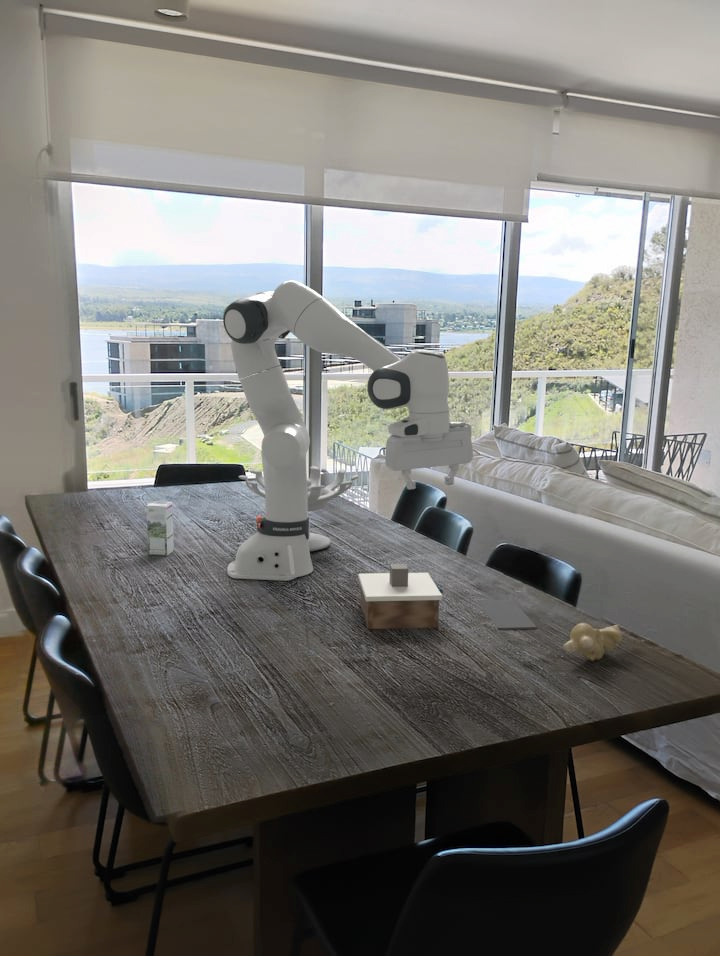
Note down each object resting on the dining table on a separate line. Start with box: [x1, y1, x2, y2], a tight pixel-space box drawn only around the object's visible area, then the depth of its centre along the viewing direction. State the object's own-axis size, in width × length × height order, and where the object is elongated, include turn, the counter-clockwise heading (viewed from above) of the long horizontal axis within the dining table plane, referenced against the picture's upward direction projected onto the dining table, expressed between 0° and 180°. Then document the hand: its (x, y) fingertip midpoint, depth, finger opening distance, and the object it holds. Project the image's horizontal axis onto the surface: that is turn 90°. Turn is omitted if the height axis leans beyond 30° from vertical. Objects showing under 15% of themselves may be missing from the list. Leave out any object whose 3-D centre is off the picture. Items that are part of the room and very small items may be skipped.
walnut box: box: [359, 586, 440, 630], centre depth 170 cm, size 15×15×7 cm
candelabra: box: [238, 465, 360, 552], centre depth 228 cm, size 34×35×27 cm
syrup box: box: [146, 500, 175, 557], centre depth 218 cm, size 6×6×14 cm
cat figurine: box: [562, 622, 623, 662], centre depth 151 cm, size 8×7×12 cm
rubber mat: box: [476, 598, 538, 631], centre depth 175 cm, size 18×18×1 cm
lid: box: [357, 563, 443, 601], centre depth 170 cm, size 16×16×6 cm
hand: (430, 486), depth 173 cm, fingers open, 8 cm apart
